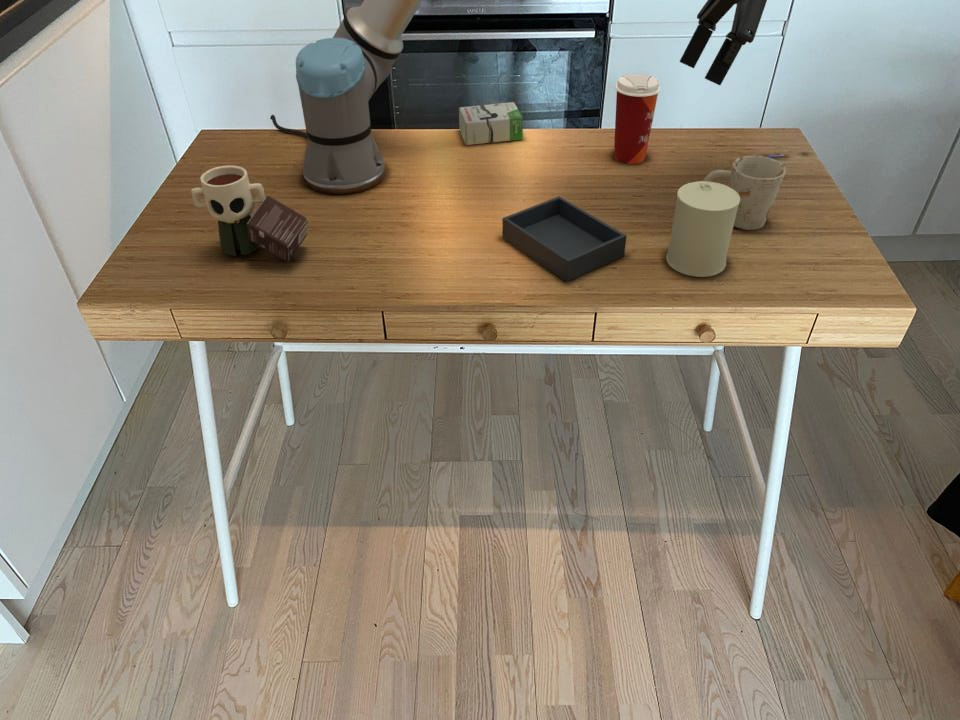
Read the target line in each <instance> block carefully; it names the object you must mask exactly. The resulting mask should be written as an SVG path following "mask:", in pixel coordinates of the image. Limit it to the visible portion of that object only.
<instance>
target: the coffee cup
mask: <svg viewBox="0 0 960 720" xmlns="http://www.w3.org/2000/svg"><path fill="white" fill-rule="evenodd" d="M614 89H615V90H616V97H615V98H616V99H615V101H616V102H615V121H614V142H613V144H614V147H613V158H614V159H615V160H616V161H617V162H619V163H622V164H627V165H635V164H640V163H642V162H644V161H645V159H646V156H647V150H648V146H649V141H650V137H651V132H652V125H653V121H654V115H655V111H656V107H657V106H656V105H657V101H658V96H659V93H660V92H661V86H660V81H659V79H658V78H657V77H655V76H653V75H651V74H645V73H627V74H624V75H621V76H620V77H619V78H618V80H617V82H616V84H615V86H614Z"/></svg>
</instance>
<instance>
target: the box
mask: <svg viewBox="0 0 960 720" xmlns="http://www.w3.org/2000/svg"><path fill="white" fill-rule="evenodd" d="M308 222H309V218H308V217H306V216H304V215H302V214H301V213H299V212H297V211H296V210H294V209H292V208H290V207H289V206H287V205H285V204H284V203H282V202H280V201H279V200H276V199H275V198H273V197H271V196H270V195H267V196H265V199H264V201H263V202H262V203H260V205H259V207H258V208H257V209H256V210H255V212H254V213H253V214H252V215H251V219H250V220H249V221H248V223H247V228H248V237H249V240H250V241H252V242H254V243H256V244H257V245H259V247H261V248H263V249H264V250H266V251H268V252H270V253H271V254H273V255H275V256H276V257H278V258H280V259H281V260H284V261H285V262H287V263H288V262H290V261H291V259H293V256H294V255H295V253H296V252H297V251H298V249H299V248H300V246H301V245H302V243H303V242H304V240H305V239H306V237H307V236H308V224H309V223H308Z"/></svg>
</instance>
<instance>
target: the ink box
mask: <svg viewBox="0 0 960 720" xmlns="http://www.w3.org/2000/svg"><path fill="white" fill-rule="evenodd" d="M523 119H524V118H523V115H522V113H521V112H520V110H519V109H518V107H517V105H516V103H515V102H514V101H512V102H511V101H509V102H502V103H501V102H500V103H490V104H482V105H472V106H470V105H469V106H460V107H459V108H458V124H459V125H458V127H459V132H460V134H461V137H462V140H463V143H464V145H466V146H472V145H481V144H490V143H500V142H502V143H503V142H508V141H510V142H511V141H519V140H523V138H524V132H523V131H524V129H523V128H524V125H523V124H524V123H523V122H524V121H523Z"/></svg>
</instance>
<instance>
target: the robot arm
mask: <svg viewBox="0 0 960 720" xmlns="http://www.w3.org/2000/svg"><path fill="white" fill-rule="evenodd" d="M423 2H424V0H363V1H362V3H361V5H360V6H354V7H350V8H349V9H348V10H347V12H346V13H345V15H344V16H343V19H342V21H341V23H340V24H339V26H338V27H337V29H336V31H335V33H334V35H333V36H332V37H328V38H322V39H318V40H316V41H315V42H310V43H308V44H306V45H305V46H303V47H302V48H301V49H300V50H299V52H298V53H297V55H296V56H295V57H296V58H295V79H296V82H297V87H298V93H299V98H300V103H301V109H302V115H303V120H304V126H305V131H303V130H299V129H293V128H287V127H283V126H281V125H279V124H278V122H277V119H276V115H275V114H271V115H270V118H269V119H270V120H272V124H273V126H274V127H275V129H277V130H279V131H281V132H283V133H290V134H295V135H300V136H303V137H304V138H306V140H307V141H306V148H305V152H304V159H303V165H302V176H303V180H304V183H305V185H306V186H307V187H308V188H309V189H312V190H314V191H316V192H319V193H324V194H329V195H349V194H354V193H355V194H356V193H360V192H364V191H367V190H369V189H371V188H373V187H375V186H377V185H378V184H380V183H381V182H382V181H383V180H384V179H385V177H386V165H385V160H384V158H383V156H382V153H381V152H380V149H379V147H378V145H377V142H376V141H375V137H374V135H373V134H372V126H371V125H372V124H371V116H370V115H371V114H370V107H369V101H370V100H371V98H372V97H373V96H374V93H376V91H377V90H378V88H379V87H380V85H381V84H382V83H384V82H385V80H386V79H387V78H388V77H389V75H390V73H391V71H392V68H393V66H394V64H395V62H396V61H397V59H398V58H399V56H400V54H401V53H402V51H403V50H404V42H403V38H402V35H403V34H404V32H405V30H406V29H407V27H408V26H409V24H410V22H411V21H412V19H413V18H414V16H415V14H416V13H417V12H418V10H419V8H420V7H421V4H422V3H423ZM767 2H768V0H707V1H706V2H705V3H704V5H703V6H702V8H701V9H700V10H699V12H698V13H697V15H696V19H697V20H698V22H697V24H698V25H697V26H696V28H695V30H694V32H693V35H692V36H691V38H690V40H689V42H688V44H687V46H686V48H685V49H684V52H683V54H682V55H681V58H680V59H679V63H681V64H683V65H685V66H688V67H690V68H692V69H695V68H696V66H697V63H698V62H699V60H700V57H701V56H702V54H703V53H704V51H705V49H706V46H707V45H708V43H709V42H710V41H709V40H710V39H711V37H712V35H713V34H714V32H716V30H717V29H716V28H717V24H718V23H719V22H720V21H721V19H723V17H724V16H725V15H726V14H727V13H728V12H729V11H730V10H731V9H732V8H733V7H734V6H735V5H736V6H735V12H734V16H733V21H732V25H731V30H730V31H729V32H728V33H726V34H725V39H724V41H723V43H722V45H721V46H720V48H719V51H717V54H716V56H715V57H714V60H713V61H712V63H711V65H710V67H709V68H708V71H707V72H706V74H705V76H704V79H705V80H707V81H709V82H711V83H713V84H715V85H718V86H721V85H722V83H723V82H724V80H725V78H726V76H727V74H728V72H729V70H730V69H731V67H732V66H733V63H734V61H735V59H736V58H737V57H738V55H739V53H740V51H741V50H742V47H743V46H745V45H746V44H747V43H749V44H751V43H753V42H754V39H755V37H756V34H757V31H758V28H759V25H760V22H761V20H762V16H763V12H764V10H765V8H766V5H767Z"/></svg>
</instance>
